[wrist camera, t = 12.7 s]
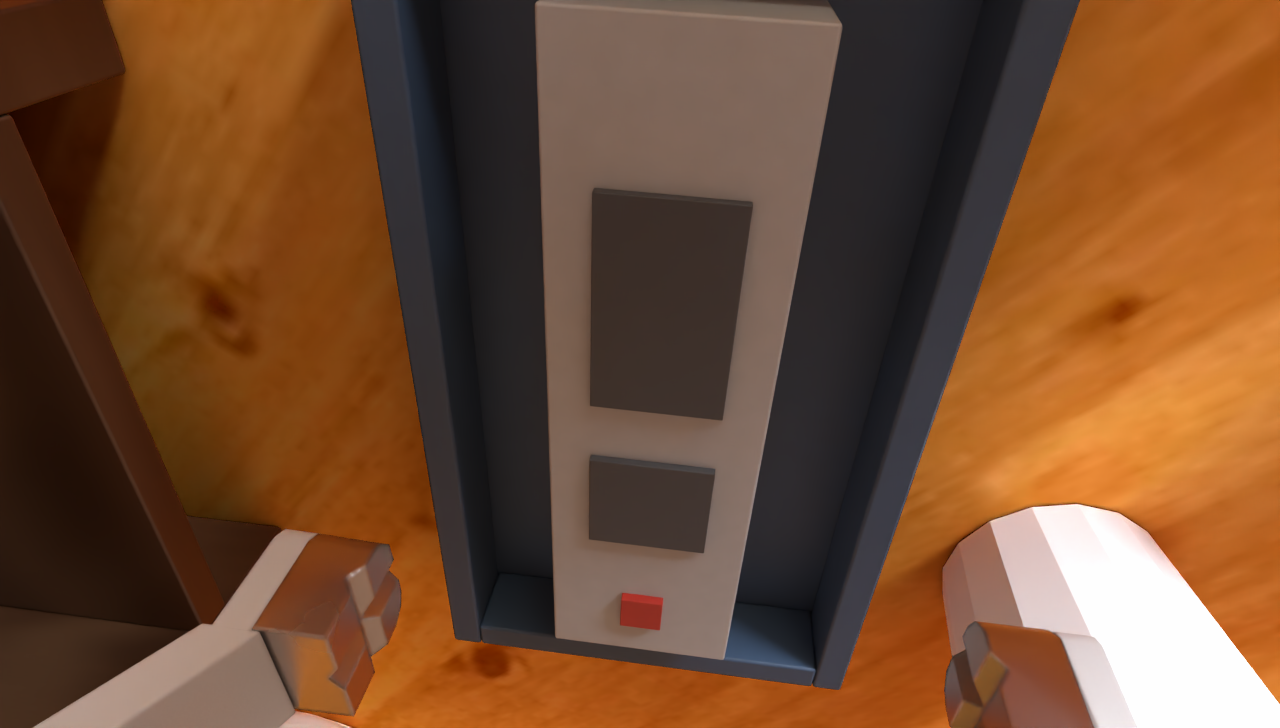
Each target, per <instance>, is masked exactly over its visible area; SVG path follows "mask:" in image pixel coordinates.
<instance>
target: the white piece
mask: <svg viewBox="0 0 1280 728" xmlns="http://www.w3.org/2000/svg"><path fill="white" fill-rule="evenodd" d="M279 728H352V727H350V726H347V725H344V724H341V723H339V722H335V721H332V720H329V719H325V718H323V717H320V716H317V715H313V714H309V713H304V712H298V711H295V714H294V715H292V716H291V717H290V718H289V719H288V720H287V721H286V722H285V723H283V724H282V725H281V726H280V727H279Z"/></svg>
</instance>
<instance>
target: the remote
mask: <svg viewBox="0 0 1280 728" xmlns="http://www.w3.org/2000/svg"><path fill="white" fill-rule="evenodd" d="M535 33H536V64H537V94H538V125H539V156H540V187H541V217H542V248H543V279H544V310H545V341H546V371H547V402H548V433H549V464H550V494H551V525H552V556H553V587H554V617H555V637H556V638H561V639H568V640H576V641H583V642H591V643H598V644H606V645H613V646H621V647H629V648H636V649H644V650H651V651H659V652H666V653H674V654H681V655H689V656H696V657H704V658H711V659H719V660H723V659H724V658H725V652H726V647H727V642H728V636H729V631H730V626H731V620H732V615H733V610H734V604H735V599H736V594H737V588H738V583H739V578H740V572H741V567H742V562H743V556H744V551H745V546H746V540H747V535H748V530H749V524H750V519H751V514H752V508H753V503H754V498H755V492H756V487H757V482H758V476H759V471H760V466H761V460H762V455H763V450H764V444H765V439H766V434H767V428H768V423H769V418H770V412H771V407H772V401H773V396H774V391H775V385H776V380H777V375H778V369H779V364H780V359H781V353H782V348H783V343H784V337H785V332H786V327H787V321H788V316H789V311H790V305H791V300H792V295H793V289H794V284H795V279H796V273H797V268H798V263H799V257H800V252H801V247H802V241H803V236H804V231H805V225H806V220H807V215H808V209H809V204H810V199H811V193H812V188H813V183H814V177H815V172H816V167H817V161H818V156H819V151H820V145H821V140H822V135H823V129H824V124H825V119H826V113H827V108H828V103H829V97H830V92H831V87H832V81H833V76H834V71H835V65H836V60H837V55H838V49H839V44H840V39H841V33H842V24H841V22H840V20H839V19H838V17H837V15H836V14H835V12H834V10H833V9H832V7H831V5H830V4H829V2H828V0H539V1H537V2H536V3H535Z"/></svg>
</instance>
